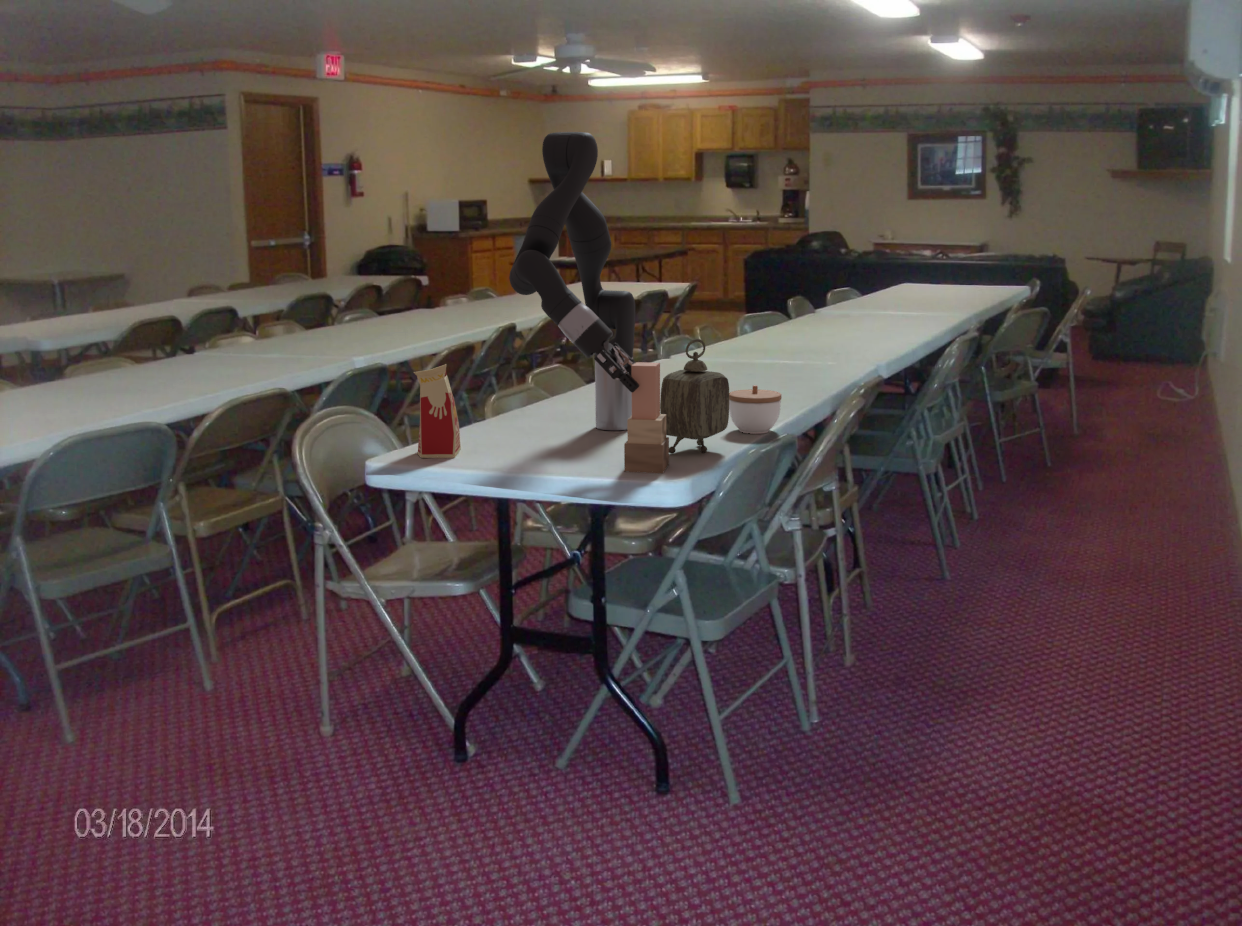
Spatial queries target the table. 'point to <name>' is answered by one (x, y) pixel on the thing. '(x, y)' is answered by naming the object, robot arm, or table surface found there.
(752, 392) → the lidded bowl
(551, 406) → the table surface
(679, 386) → the tabletop clock
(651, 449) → the walnut block
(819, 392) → the table surface
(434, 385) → the milk carton
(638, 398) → the terracotta pillar
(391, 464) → the table surface
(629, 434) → the oak block
